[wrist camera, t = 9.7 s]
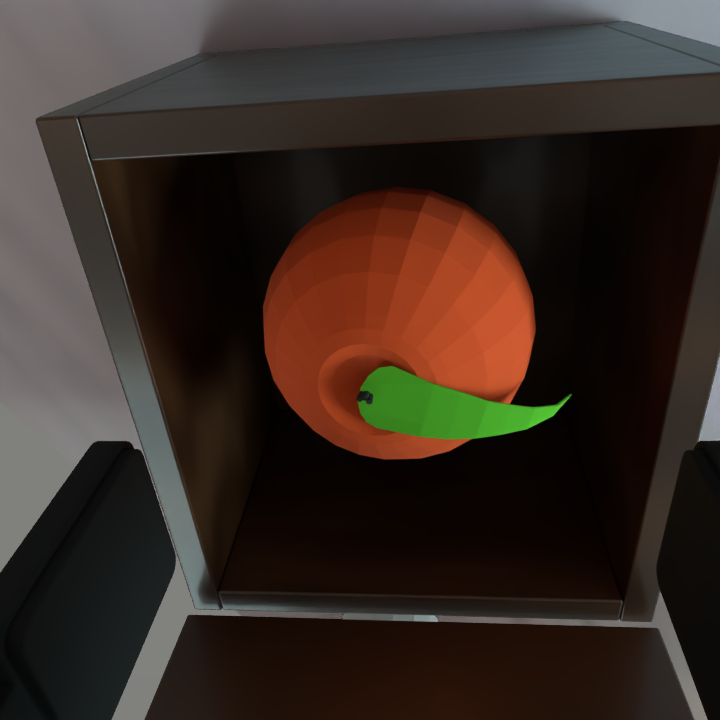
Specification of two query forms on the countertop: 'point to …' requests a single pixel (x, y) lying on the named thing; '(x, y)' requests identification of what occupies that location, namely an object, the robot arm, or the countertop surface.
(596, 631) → the lid
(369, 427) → the clementine
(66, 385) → the countertop surface
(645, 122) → the chest
